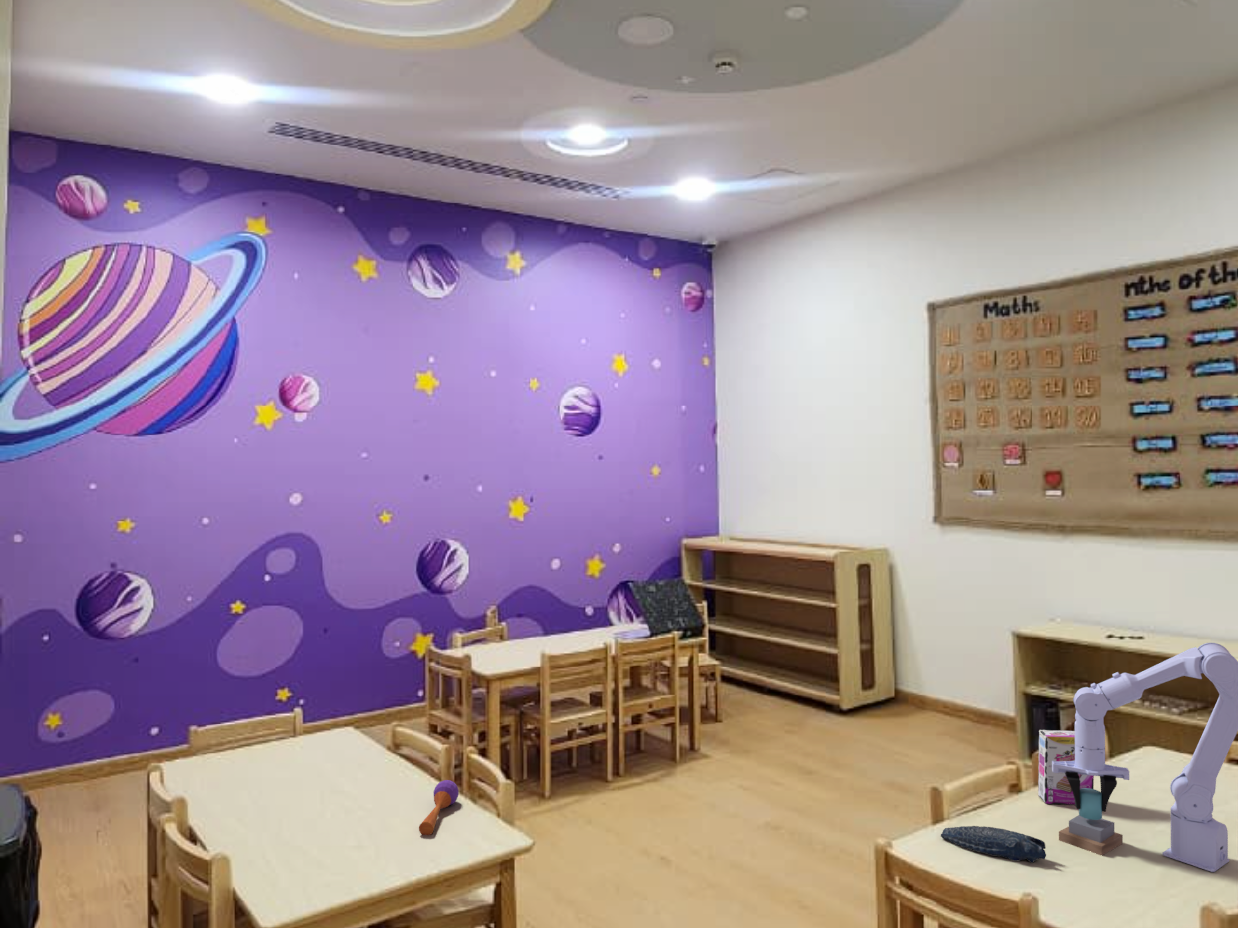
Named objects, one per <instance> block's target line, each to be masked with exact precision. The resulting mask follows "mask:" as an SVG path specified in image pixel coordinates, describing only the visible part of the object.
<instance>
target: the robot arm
mask: <svg viewBox="0 0 1238 928" xmlns="http://www.w3.org/2000/svg"><path fill="white" fill-rule="evenodd" d="M1202 674H1204V676H1205V677H1206V678H1207V679H1208V680H1209V681H1210V682H1211V683H1212V684H1213V685H1214V688H1215V689H1216V691H1217V692H1218V694H1219V695H1218V698H1217V701H1216V703H1215V705H1214V708H1213V709H1212V712H1211V713H1210V716H1209V718H1208V721H1207V723H1206V725H1205V727H1204V730H1203V732H1202V735H1201V737H1200V739H1199V741H1198V743H1197V745H1196V748H1195V750H1194V752H1193V754H1192V756H1191V759H1190V761H1189V762H1188V763H1187V764H1186V765H1185V766H1184V767H1183V769H1182V771H1181V773H1180V774H1179V775H1177V776H1176V777H1174V778H1173V779H1172V780H1171V783H1170V787H1169V788H1170V793H1171V795H1172V796H1173V798H1174V800H1175V801H1174V803H1173V805H1171V807H1170V847H1169V848H1167V849H1166V850H1164V851H1163V852H1162V853H1161V854H1162V856H1164V857H1167V858H1170V859H1173V860H1176V861H1177V862H1178V861H1179V862H1182V863H1185V864H1186V865H1187V864H1188V865H1191V866H1194V867H1196V868H1200V869H1203V870H1205V871H1207V872H1211V873H1215V872H1216V871H1218V870H1219V869H1221V868H1222V867H1223V866H1225V865H1226V864H1227V863H1229V862H1230V858H1229V857H1228V856H1229V855H1228V854H1229V849H1228V848H1229V844H1228V843H1229V841H1228V838H1229V837H1228V835H1229V833H1228V832H1229V831H1228V827H1227V826H1226V824H1225V823H1223V822H1220V821H1218V820H1216V819H1215V818H1213V812H1214V803H1213V800H1214V799H1213V798H1214V796H1215V794H1216V787H1217V785H1216V784H1217V777H1218V775H1219V773H1220V771H1221V768H1222V767H1223V765H1224V762H1225V760H1226V759H1227V758H1226V757H1227V756H1228V754H1229V753H1228V752H1229V751H1230V748H1231V747H1232V744H1233V743H1234V740H1235V738H1236V736H1237V734H1238V660H1237V659H1236V658H1235V656H1233V655H1232V654H1231V652H1230V651H1229V650H1228V649H1227V648H1226V647H1225V646H1224V645H1222V644H1219V643H1217V642H1206V643H1203V644H1201V645H1200V646H1198V647H1196V646H1195V647H1190V648H1188V649H1186V650H1184V651H1182V652H1180V653H1177V654H1176V655H1174V656H1172V657H1170V658H1167V659H1165V660H1163V661H1161V662H1160V663H1157V664H1155V665H1153V666H1151V667H1149V668H1146V669H1145V670H1143V671H1140V672H1138V673H1136V674H1131V673H1128V672H1122V673H1120V672H1119V671H1117V672H1115V673H1112V674H1111V675H1112V677H1110V678H1107V679H1106V680H1104V681H1101V682H1099V683H1095V682H1093V683H1090V687H1088V686H1085V687H1081V688H1079V689H1078V690H1077V691H1076V693H1074V697H1073V699H1072V701H1073V704H1074V706H1075V714H1074V719H1075V721H1074V731H1075V761H1052V771H1053V773H1059V772H1062V773H1065V775H1066V777H1067V779H1068V782H1069V784H1070V786H1071V789H1072V792H1073V795H1074V800H1075V804H1074V806H1075V809H1076V810H1079V809H1080V779H1079V775H1078V774H1083V775H1092V776H1094V777H1099V779H1100V781H1099V782H1100V792H1101V793H1102V813H1106V812H1107V807H1108V802H1109V800H1110V797H1111V796H1112V794H1113V792H1114V790H1115V789H1116V787H1117V785H1118V780H1117V779H1123V780H1127V781H1129V780H1130V770H1129V768H1128V767H1122V766H1116V765H1112V764H1111V765H1110V764H1108V763H1107V764H1106V726H1105V723H1104V718H1105V716H1106V714H1107V712H1108V711H1113V710H1115V709H1118V708H1121V707H1122V706H1125V705H1127V704H1130V703H1132V702H1135V701H1137V700H1139V699H1141V698H1142V696H1143V693H1144V691H1145V690H1147V689H1149V688H1153V687H1155V686H1159V685H1161V684H1164V683H1166V682H1169V681H1172V680H1175V679H1178V678H1180V677H1184V676H1185V677H1189V678H1192V679H1193V678H1194V679H1198V680H1202V679H1203V677H1202Z"/></svg>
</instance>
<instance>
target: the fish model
mask: <svg viewBox="0 0 1238 928" xmlns="http://www.w3.org/2000/svg"><path fill="white" fill-rule="evenodd" d="M940 837H941V838H942V839H943V840H946V841H948V842H950V843H951V844H955V846H956V845H957V846H958V845H959V847H961V848H965V849H967V848H968V850H970V851H973V850H974V851H975V853H976V852H977V853H982V854H986V855H988V856H995V857H1001V858H1005V859H1009V860H1011V861H1015V862H1016V861H1021V860H1022V861H1023V860H1027V861H1028V862H1029V863H1031V864H1032V863H1034V862H1035V861H1037V860H1041V859H1042V860H1045V859H1046V857H1047V853H1046V850H1045V849H1046V843H1045V841H1044V840H1042V839H1039V838H1036V837H1033V836H1030V835H1027V834H1024V833H1020V832H1017V831H1013V830H1008V829H1005V828H997V827H993V826H992V827H991V826H984V825H983V826H978V825H971V826H970V825H967V826H954V827H945V828H944V829H943V830H942V832H941V833H940ZM974 851H973V852H974Z"/></svg>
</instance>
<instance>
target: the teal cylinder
mask: <svg viewBox="0 0 1238 928" xmlns="http://www.w3.org/2000/svg"><path fill="white" fill-rule="evenodd" d="M1078 815H1080V816H1081V817H1083V818H1086V819H1091V820H1099V819H1103V812H1102V793H1101V790H1100V791H1099V790H1097V789H1094V788H1093V789H1089V788H1082V789H1080V809H1078Z"/></svg>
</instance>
